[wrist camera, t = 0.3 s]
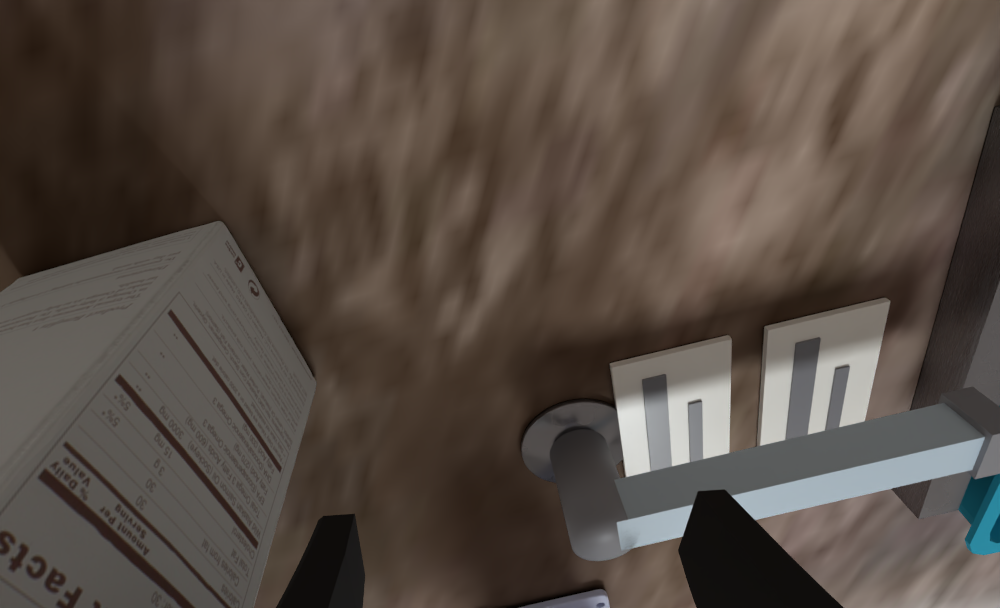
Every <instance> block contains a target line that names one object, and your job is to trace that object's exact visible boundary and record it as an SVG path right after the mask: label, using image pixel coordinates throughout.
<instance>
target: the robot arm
mask: <svg viewBox="0 0 1000 608" xmlns="http://www.w3.org/2000/svg"><path fill="white" fill-rule="evenodd" d="M678 551H679V555H680V558H681V561H682V565H683V568H684V571H685V575H686V578H687V581H688V584H689V587H690V590H691V593H692V596H693V599H694V602H695V604H696V607H697V608H843V607H842V606H841V605H840V604H839V603H838V602H837V601H836V600H835V599H834V598H833V597H832V596H831V595H830V594H829V593H828V592H826V591H825V590H824V589H823V588H822V587H821V586H820V585H819V584H818V583H817V582H816V581H815V580H814V579H813V578H812V577H811V576H810V575H809V574H808V573H807V572H806V571H805V570H804V569H803V568H802V567H801V566H800V565H799V564H798V563H797V562H796V561H795V560H794V559H793V558H792V557H791V556H790V555H789V554H788V553H787V552H786V551H785V550H784V549H783V548H782V547H781V546H780V545H779V544H778V543H777V542H776V541H775V540H774V539H773V538H772V537H771V536H770V535H769V534H768V533H767V532H766V531H765V530H764V529H763V528H762V527H761V526H760V525H759V524H758V523H757V522H756V521H755V520H754V519H753V518H752V517H751V515H750V514H749V513H748V512H747V511H746V510H745V509H744V508H743V507H742V506H741V505H740V504H739V503H738V502H737V501H736V500H735V499H734V498H733V497H732V496H731V495H730V494H729V493H728V492H727V491H726V490H725V489H722V490H707V491H698V492H697V495H696V498H695V501H694V504H693V507H692V510H691V513H690V516H689V519H688V522H687V525H686V528H685V531H684V534H683V537H682V540H681V543H680V546H679V549H678ZM364 582H365V572H364V566H363V560H362V554H361V548H360V542H359V536H358V531H357V525H356V519H355V514H348V515H333V516H323V517H322V518H321V519H319V520H318V523H317V525H316V528H315V530H314V532H313V535H312V537H311V539H310V541H309V544H308V546H307V548H306V550H305V552H304V554H303V556H302V559H301V561H300V563H299V565H298V567H297V569H296V571H295V573H294V575H293V577H292V579H291V581H290V583H289V585H288V586H287V588H286V590H285V592H284V594H283V596H282V598H281V600H280V601H279V603H278V605H277V607H276V608H363V595H364ZM518 608H610V605H609V600H608V596H607V593H606V591H605V590H603V589H597V590H592V591H588V592H584V593H579V594H575V595H571V596H566V597H562V598H557V599H553V600H549V601H544V602H540V603H536V604H531V605H527V606H522V607H518Z"/></svg>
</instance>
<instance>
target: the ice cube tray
mask: <svg viewBox="0 0 1000 608" xmlns="http://www.w3.org/2000/svg"><path fill="white" fill-rule="evenodd" d="M999 407H1000V406H999ZM958 510H959V511H960V512H961V513H962V514H963V516H964V517H965V518H966V519H967V520H968V521H969V523H970V524H971V527H970V529H969V532H968V534H967V536H966V538H965V542H966V545H967V548H968V549H969V550H970V551H971V552H972V553H975V554H981V555H987V554H991V553H996V552H1000V474H996V475H992V476H987V477H983V478H978V479H974V478H973V477H972V476H971V479H970V481H969V484H968V486H967V489H966V491H965V494H964V496H963V499H962V501H961V504H960V506H959V509H958Z"/></svg>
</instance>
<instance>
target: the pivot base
mask: <svg viewBox="0 0 1000 608" xmlns="http://www.w3.org/2000/svg"><path fill="white" fill-rule="evenodd" d="M582 429H586V430H593V431H596V432H598V433H600V434H601V435H602V436H603V437H604V438H605V439H606V442H607V444H608V447H609V450H610V452H611V455H612V458H613V460H614V463H615V466H616V465H617V464H618V463H619V462H620V461H621V460H622V459H623V458H624V457H623V450H622V443H621V435H620V428H619V420H618V413H617V410H616V407H615V406H613V405H611V404H609V403H606V402H604V401H599V400H594V399H576V400H570V401H566V402H562V403H559V404H557V405H554V406H552V407H550V408H548V409H546V410H545V411H543V412H542V413H540V414H539V415H538V416H537V417H535V418H534V419H533V420H532V421H531V422H530V424H529V425H528V427H527V428H526V430H525V432H524V434H523V437H522V441H521V451H522V456H523V460H524V463H525V464H526V466H527V468H528V469H529V470H530V471H531V472H532V473H533V474H535V475H536V476H538V477H539V478H542V479H544V480H547V481H550V482H554V483H556V480H555V476H554V472H553V468H552V463H551V459H550V449H551V447H552V445H553V444H554V442H555V441H556V440H557V439H558V438H560V437H561V436H562V435H564V434H566V433H568V432H571V431H575V430H582ZM630 433H631V432H630Z"/></svg>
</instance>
